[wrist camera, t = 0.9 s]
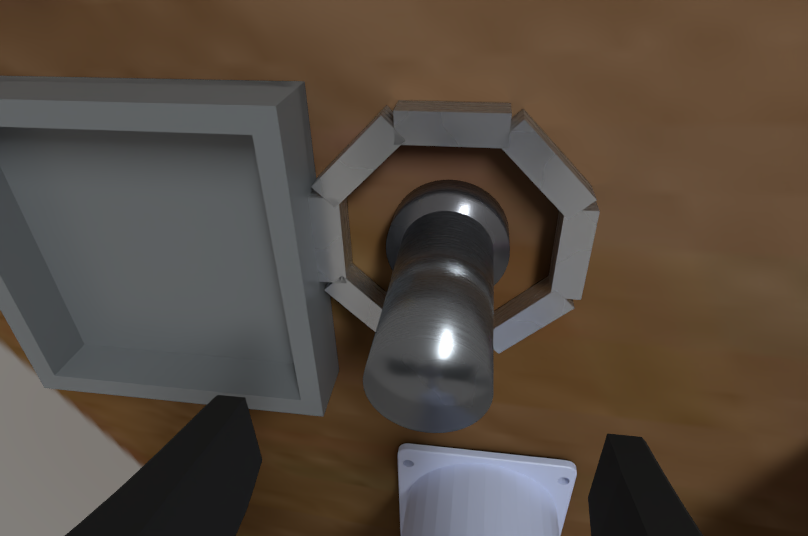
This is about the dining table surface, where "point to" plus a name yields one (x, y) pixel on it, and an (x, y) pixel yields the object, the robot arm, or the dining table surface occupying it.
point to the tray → (164, 239)
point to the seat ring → (458, 129)
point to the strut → (439, 309)
